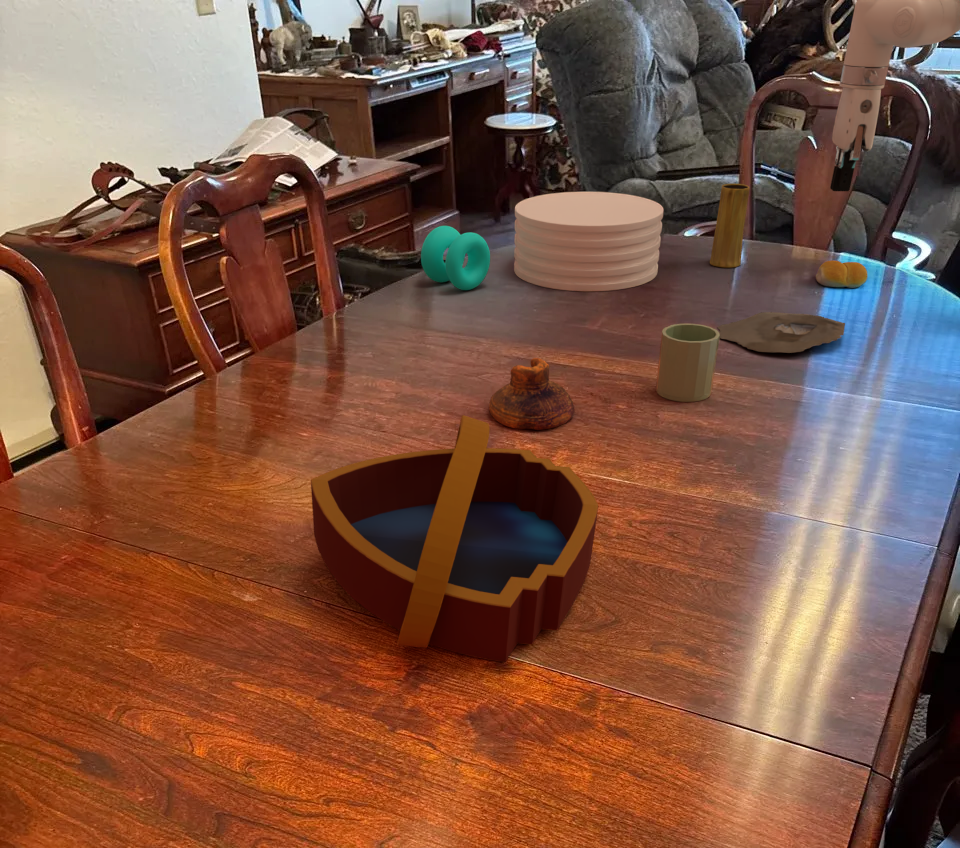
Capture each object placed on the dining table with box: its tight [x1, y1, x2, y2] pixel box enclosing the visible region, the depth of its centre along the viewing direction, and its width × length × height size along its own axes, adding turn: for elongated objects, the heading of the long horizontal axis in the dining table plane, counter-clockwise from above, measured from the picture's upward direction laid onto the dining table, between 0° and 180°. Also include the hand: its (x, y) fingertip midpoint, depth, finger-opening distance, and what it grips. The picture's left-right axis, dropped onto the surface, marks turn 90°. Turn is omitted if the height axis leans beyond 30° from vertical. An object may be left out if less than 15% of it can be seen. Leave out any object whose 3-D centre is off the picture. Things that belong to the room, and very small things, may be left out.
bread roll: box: [815, 260, 869, 289], centre depth 178 cm, size 8×9×4 cm
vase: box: [709, 183, 751, 269], centre depth 185 cm, size 6×6×14 cm
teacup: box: [655, 323, 721, 403], centre depth 135 cm, size 8×8×8 cm
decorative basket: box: [310, 414, 599, 663], centre depth 95 cm, size 34×29×15 cm
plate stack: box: [513, 191, 664, 292], centre depth 184 cm, size 28×28×12 cm
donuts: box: [420, 225, 491, 291], centre depth 177 cm, size 10×10×10 cm
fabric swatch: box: [716, 311, 846, 354], centre depth 155 cm, size 19×22×2 cm
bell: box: [488, 357, 575, 431], centre depth 129 cm, size 12×12×7 cm
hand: (839, 190), depth 178 cm, fingers closed
